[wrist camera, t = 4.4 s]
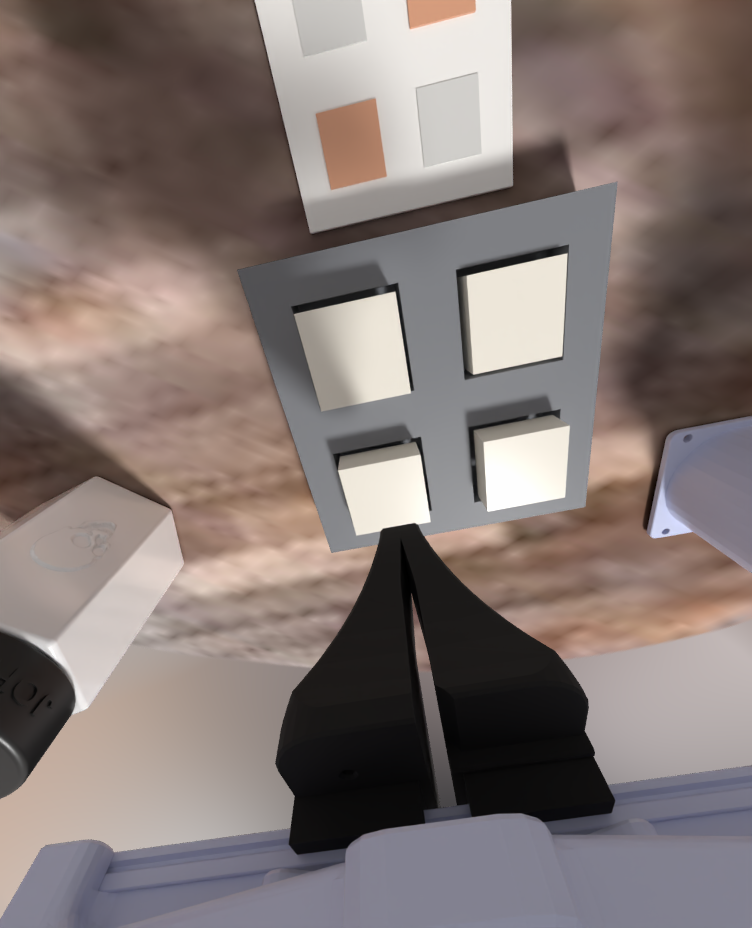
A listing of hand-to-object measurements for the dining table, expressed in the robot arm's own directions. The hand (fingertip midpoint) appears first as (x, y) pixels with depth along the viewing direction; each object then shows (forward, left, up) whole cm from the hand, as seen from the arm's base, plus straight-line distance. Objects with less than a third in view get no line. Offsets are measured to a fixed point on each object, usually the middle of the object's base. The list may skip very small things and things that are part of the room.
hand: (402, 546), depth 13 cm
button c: (0, -6, -6) cm, 9 cm away
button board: (-3, -3, -9) cm, 10 cm away
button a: (-7, -6, -7) cm, 12 cm away
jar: (+18, +2, -9) cm, 21 cm away
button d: (0, +1, -6) cm, 6 cm away
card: (-3, -16, -9) cm, 18 cm away
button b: (-7, +1, -6) cm, 9 cm away
